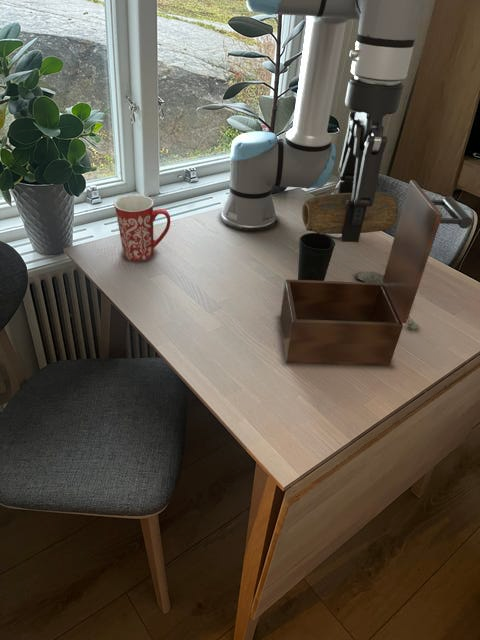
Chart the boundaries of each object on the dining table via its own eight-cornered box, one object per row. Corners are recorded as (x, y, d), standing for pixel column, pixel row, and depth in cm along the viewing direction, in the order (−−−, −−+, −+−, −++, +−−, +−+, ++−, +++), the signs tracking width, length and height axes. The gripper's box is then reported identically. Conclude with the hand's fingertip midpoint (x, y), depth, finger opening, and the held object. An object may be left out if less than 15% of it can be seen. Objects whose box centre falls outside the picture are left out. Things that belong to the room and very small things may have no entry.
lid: (437, 214, 71) (485, 216, 71) (410, 179, 81) (451, 181, 82) (401, 323, 83) (442, 324, 84) (382, 281, 94) (418, 282, 94)
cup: (324, 299, 106) (334, 252, 99) (290, 294, 107) (297, 246, 99) (326, 281, 112) (335, 235, 105) (294, 276, 113) (301, 230, 105)
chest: (286, 363, 89) (292, 321, 83) (279, 318, 99) (285, 279, 93) (389, 366, 89) (403, 325, 83) (372, 321, 100) (383, 283, 94)
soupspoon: (376, 275, 116) (351, 279, 115) (378, 263, 114) (353, 267, 113) (427, 327, 99) (399, 333, 98) (431, 314, 97) (402, 319, 96)
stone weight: (376, 219, 84) (385, 183, 80) (395, 238, 79) (405, 200, 75) (295, 223, 81) (301, 186, 77) (309, 243, 76) (316, 204, 71)
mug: (116, 263, 113) (110, 210, 105) (122, 244, 120) (117, 193, 112) (169, 264, 114) (167, 212, 106) (173, 246, 121) (171, 196, 113)
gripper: (337, 63, 73) (314, 203, 87) (365, 94, 58) (332, 258, 72) (385, 66, 74) (355, 205, 88) (426, 97, 58) (381, 261, 72)
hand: (345, 229), depth 80 cm, fingers closed on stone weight, 7 cm apart
